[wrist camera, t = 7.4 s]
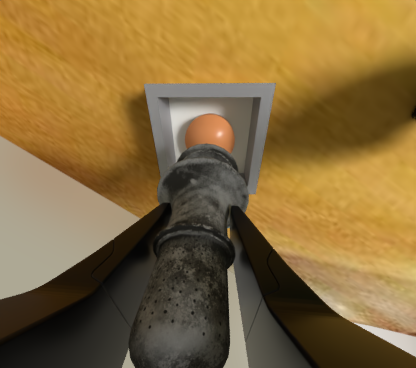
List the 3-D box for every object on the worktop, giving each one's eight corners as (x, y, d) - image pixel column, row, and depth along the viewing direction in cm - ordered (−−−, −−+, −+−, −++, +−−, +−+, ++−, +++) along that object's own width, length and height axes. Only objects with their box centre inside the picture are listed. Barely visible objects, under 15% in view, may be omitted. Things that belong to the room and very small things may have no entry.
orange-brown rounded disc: (235, 113, 17) (237, 115, 16) (232, 161, 20) (232, 165, 19) (185, 113, 18) (182, 114, 17) (188, 160, 20) (186, 164, 19)
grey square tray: (263, 84, 17) (275, 83, 13) (249, 176, 22) (255, 194, 19) (160, 84, 17) (143, 83, 14) (172, 173, 23) (163, 191, 19)
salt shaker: (228, 209, 15) (245, 469, 5) (167, 193, 15) (41, 445, 4) (254, 151, 12) (452, 529, 2) (177, 129, 11) (-165, 470, 1)
